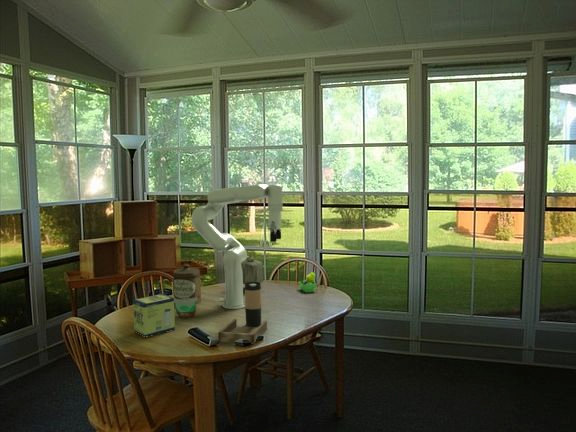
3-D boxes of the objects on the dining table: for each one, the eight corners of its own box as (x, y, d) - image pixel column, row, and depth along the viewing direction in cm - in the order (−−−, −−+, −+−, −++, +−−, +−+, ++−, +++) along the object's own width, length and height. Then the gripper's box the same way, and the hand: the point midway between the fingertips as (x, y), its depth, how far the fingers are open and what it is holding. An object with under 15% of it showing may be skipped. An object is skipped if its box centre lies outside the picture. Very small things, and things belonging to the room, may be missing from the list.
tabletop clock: (264, 289, 298) (263, 249, 296) (255, 292, 291) (254, 251, 288) (245, 286, 306) (244, 247, 304) (236, 289, 298) (235, 250, 296)
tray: (218, 341, 206) (218, 332, 205) (234, 327, 225) (234, 318, 225) (254, 344, 202) (253, 335, 202) (266, 329, 221) (266, 320, 221)
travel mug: (253, 321, 233) (252, 281, 232) (264, 324, 229) (264, 283, 227) (242, 325, 228) (241, 284, 226) (253, 328, 223) (253, 286, 221)
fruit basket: (298, 289, 298) (298, 271, 297) (311, 287, 301) (311, 270, 300) (304, 293, 287) (304, 274, 286) (318, 292, 290) (318, 273, 289)
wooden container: (169, 305, 265) (168, 265, 263) (181, 298, 279) (180, 261, 277) (194, 306, 261) (193, 266, 259) (205, 299, 276) (204, 261, 274)
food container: (174, 320, 237) (173, 300, 236) (173, 316, 243) (173, 297, 242) (199, 318, 240) (198, 298, 239) (198, 314, 246) (197, 295, 245)
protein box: (133, 333, 219) (132, 299, 217) (164, 325, 229) (162, 293, 228) (144, 338, 211) (143, 303, 210) (175, 330, 222) (174, 297, 221)
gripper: (272, 206, 260) (273, 238, 261) (263, 209, 243) (264, 242, 244) (286, 206, 258) (286, 238, 260) (278, 209, 241) (278, 242, 243)
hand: (275, 240), depth 252 cm, fingers open, 9 cm apart
